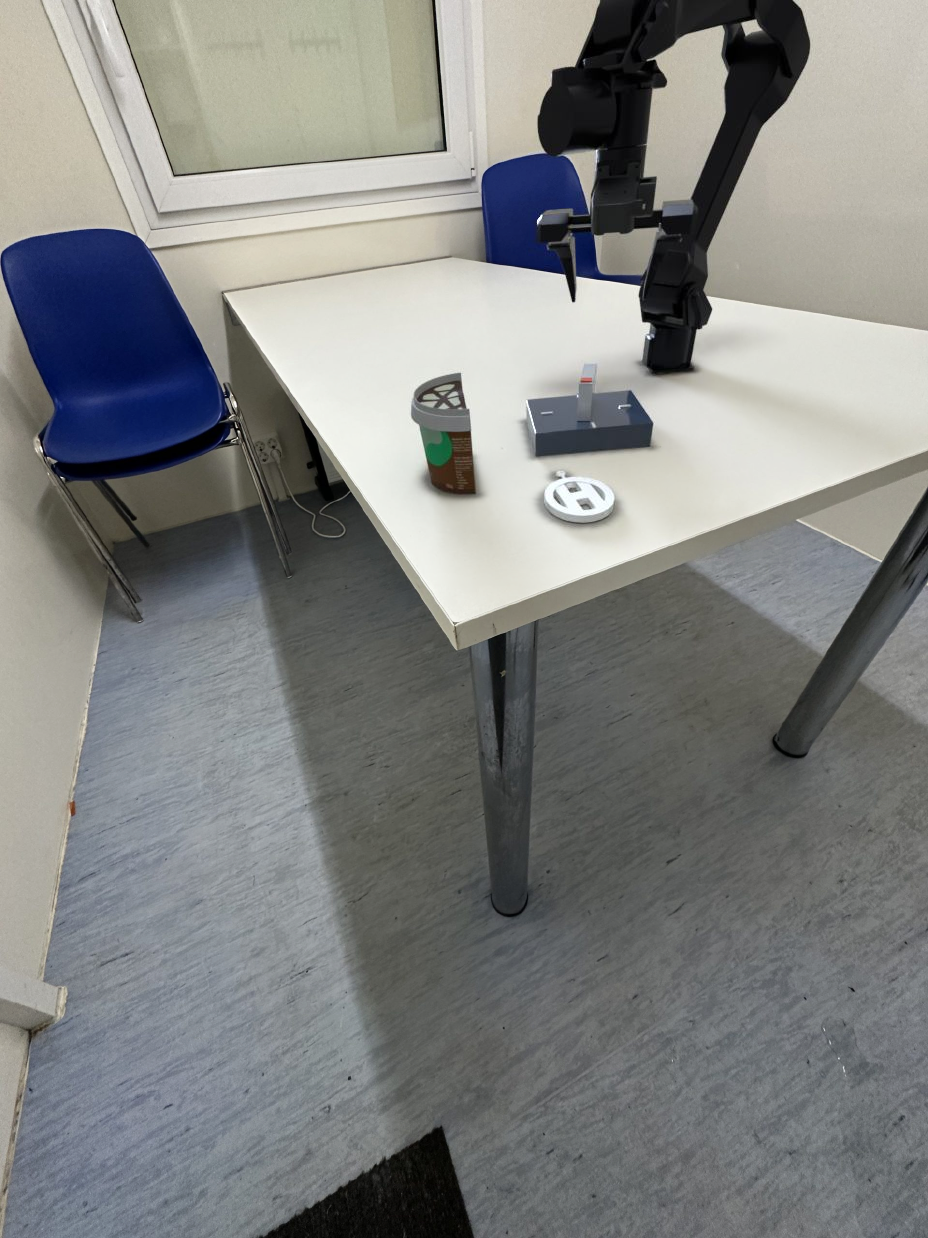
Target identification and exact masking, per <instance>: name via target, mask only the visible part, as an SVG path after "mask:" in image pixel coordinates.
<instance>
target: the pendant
mask: <svg viewBox="0 0 928 1238" xmlns="http://www.w3.org/2000/svg"><path fill="white" fill-rule="evenodd" d="M566 474H567V472H566V471H565V470H557V471H556V473H555V475H556V477H558V479H556V480H554V481H553V482H550V484H548V485H547V487H546V488H545V490H544V495H543V496H544V498H543V500H544V505H545V508H546V509H547V511H548V512H549V513H550V514H551V515H553V516H555V517H556V518H559V519H561V520H564V521H567V522H572V523H583V524H584V523H593V522H597V521H600V520H603V519H604V518H607V517H608V516H609V515H610V514H612V512H613V510H614V507H615V494H614V491H613V490H612V489H611V488H610V487H609V485H607V484H605V483H603V482H601V481H600V480H596V479H593V478H590V477H585V476H570V477H566ZM559 478H560V479H559ZM572 489H576V491H575V492H570V491H569V490H572ZM555 498H556V499H557V500H558V502H559V503H558V502H557V501H556V499H555ZM581 505H588V506H589V508H590V509H583V507H582V506H581Z"/></svg>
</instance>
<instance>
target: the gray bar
mask: <svg viewBox="0 0 928 1238" xmlns="http://www.w3.org/2000/svg"><path fill="white" fill-rule="evenodd" d="M597 371H598V363H596V362H595V363H584V364H583V365H582V369H581V373H580V374H581V375H580V378H579V382H578V391H577V393H578V409H577V421H590V419H591V414H592V409H593V404H594V399H595V393H596V384H597Z"/></svg>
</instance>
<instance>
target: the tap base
mask: <svg viewBox="0 0 928 1238" xmlns="http://www.w3.org/2000/svg"><path fill="white" fill-rule="evenodd" d="M525 403H526V406H525V409H526V410H525V413H526V415H525V416H526V417H525V418H526V419H525V420H526V425H527V429H528V433H529V437H530V441H531V445H532V448H533V452H534V456H535V457H546V456H547V457H548V456H558V455H559V456H560V455H568V454H582V453H591V452H593V453H594V452H603V451H604V452H605V451H614V450H616V451H617V450H626V449H627V450H628V449H639V448H648V447H649V448H650V447H651V443H652V438H653V437H652V435H653V429H654V421H653V420H652V418H651V417H650V415H649V414H648V412H647V411H646V409H645V408H644V407H643V406H642V404H641V402H640V401H639V399H638V398H637V396H636V395H635V393H634V392H633V391H632V389H627V390H617V391H608V392H607V391H605V392H595V399H594V404H593V409H592V414H591V419H590V421H577V409H578V392H576V394H574V395H573V394H572V395H562V396H552V397H540V398H529V399H526V400H525Z"/></svg>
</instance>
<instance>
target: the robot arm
mask: <svg viewBox="0 0 928 1238" xmlns="http://www.w3.org/2000/svg"><path fill="white" fill-rule="evenodd" d="M752 21H756V23H757V26H758V27H759V29H761V30H757V31H751V32H750V33H748V34H747V35H746V32H745V30H744V29H745V28H744V26H743V23H746V22H752ZM721 26H722V29H723V31H724V33H723V41H722V47H721V53H720V55H721V59H722V61H723V65H724V67H725V69H726V72H727V75H726V78H725V82H724V85H723V100H724V101H723V102H724V115H723V118H722V121H721V124H720V126H719V128H718V130H717V133H716V136H715V138H714V140H713V143H712V145H711V148H710V149H709V153H708V154H707V157H706V160H705V162H704V165H703V167H702V169H701V172H700V174H699V177H698V179H697V181H696V184H695V187H694V189H693V192H692V194H691V195H690V199H689V198H688V199H676V200H665V201H664V200H663V201H662V205H661V208H659V209H654V207H655V206H654V205H655V197H656V190H657V189H656V188H657V181H658V176H644V175H645V168H646V157H647V149H648V138H649V130H650V129H649V128H650V118H651V111H652V110H651V109H652V100H653V91H654V90H658V89H659V90H660V89H664V88H666V87H667V85H668V78H667V77H666V75H665V73H664V72H663V71H662V70H661V69H660V67H659V65H658V62H657V60H656V59H655V57H658V56H659V55H661V54H662V53H664V52H666V51H667V50H669V49H671V48H672V47H673V46H674V45H675V44H676V43H677V41H678V40H680V39H681V38H683V37H685V36H686V35H689V34H693V33H697V32H701V31H705V30H709V29H713V28H716V27H721ZM810 52H811V38H810V34H809V30H808V26H807V23H806V19H805V15H804V12H803V9H802V8H801V7H800V5H798V4H797V2H796V1H794V0H599V3H598V5H597V7H596V10H595V15H594V18H593V22H592V24H591V27H590V29H589V32H588V34H587V36H586V38H585V41H584V44H583V46H582V49H581V51H580V52H579V55H578V58H577V60H576V63H575V65H574V66H564V67H559V68H554V69H552V71H551V80H550V83H551V84H550V87H549V88H548V89H547V91H546V92H545V94H544V96H543V98H542V101H541V104H540V109H539V113H538V115H537V119H536V120H537V121H536V125H537V127H536V128H537V134H538V140H539V144H540V146H541V148H542V149H543V151H544V152H545V153H546V154H547V155H548V156H550V157H553V158H555V157H556V158H557V157H561V156H568V155H569V156H570V155H575V154H582V153H587V152H589V153H590V152H595V154H594V155H595V156H594V171H593V174H594V175H593V186H592V190H591V192H590V205H589V214H576V215H574V209H573V207H571V208H570V207H569V208H559V209H558V208H557V209H548V210H547V209H546V210H545V211H544V212H543V213H542V214H541V215H540V217H539V218H538V219H537V221H536V223H537V224H536V243H539V244H543V243H544V244H545V243H547V244H546V248H547V250H548V251H554V252H555V253H556V255H557V257H558V259H559V261H560V264H561V266H562V269H563V272H564V276H565V280H566V284H567V288H568V292H569V296H570V299H571V303H576V301H577V287H578V286H577V263H576V262H577V261H576V237H575V236H573V234H581V233H582V234H583V233H591V234H592V236H600V237H601V236H604V235H605V234H617V233H619V234H620V235H627V234H630V233H632V232H633V231H634V230H643V229H657V231H656V232H655V237H654V241H653V245H652V250H651V254H650V256H649V259H648V262H647V266H646V268H645V271H644V273H643V274H642V275H641V277H640V279H639V281H640V282H641V284H640V286H639V289H638V301H639V309H640V317H641V322H642V323H644V324H646V323H647V324H649V331H648V332H649V333H646V334H645V336H644V343H643V351H642V352H643V353H642V358H641V362H642V364H643V365H644V366H645V368H646V369H647V370H648V371H649V372H650V374H652V375H657V374H669V373H678V372H691V371H694V370H695V366H694V365H693V364H692V359H693V353H694V348H695V342H696V338H697V337H696V336H697V333H698V332H697V331H698V330H699V331H700V330H702V329H703V327H705V326H707V325H708V323H709V320H710V317H711V315H712V313H713V306H712V304H711V303H710V301H709V299H708V296H707V295H706V292H705V290H704V289H705V287H706V284H707V281H708V278H709V268H708V267H709V266H708V251H709V249H710V248H709V247H710V246H711V244H712V241H713V239H714V237H715V234H716V231H717V229H718V227H719V225H720V223H721V221H722V219H723V217H724V214H725V212H726V209H727V207H728V205H729V202H730V201H731V198H732V195H733V194H734V191H735V189H736V187H737V184H738V182H739V180H740V177H741V176H742V173H743V170H744V168H745V166H746V164H747V161H748V159H749V157H750V155H751V152H752V150H753V148H754V145H755V143H756V141H757V138H758V136H759V134H760V132H761V130H762V128H763V126H764V125H765V124H766V123H767V122H768V121H769V120H770V119H771V118H773V116H774V115H775V114H776V113H777V112H778V110H780V109H781V108H782V107H783V106H784V105H785V104H786V102H787V101H788V99H789V97H790V96H791V94H792V92H793V90H794V88H795V86H796V84H797V83H798V81H799V79H800V78H801V75H802V74H803V72H804V69H805V67H806V65H807V63H808V60H809V56H810V54H811V53H810Z"/></svg>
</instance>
